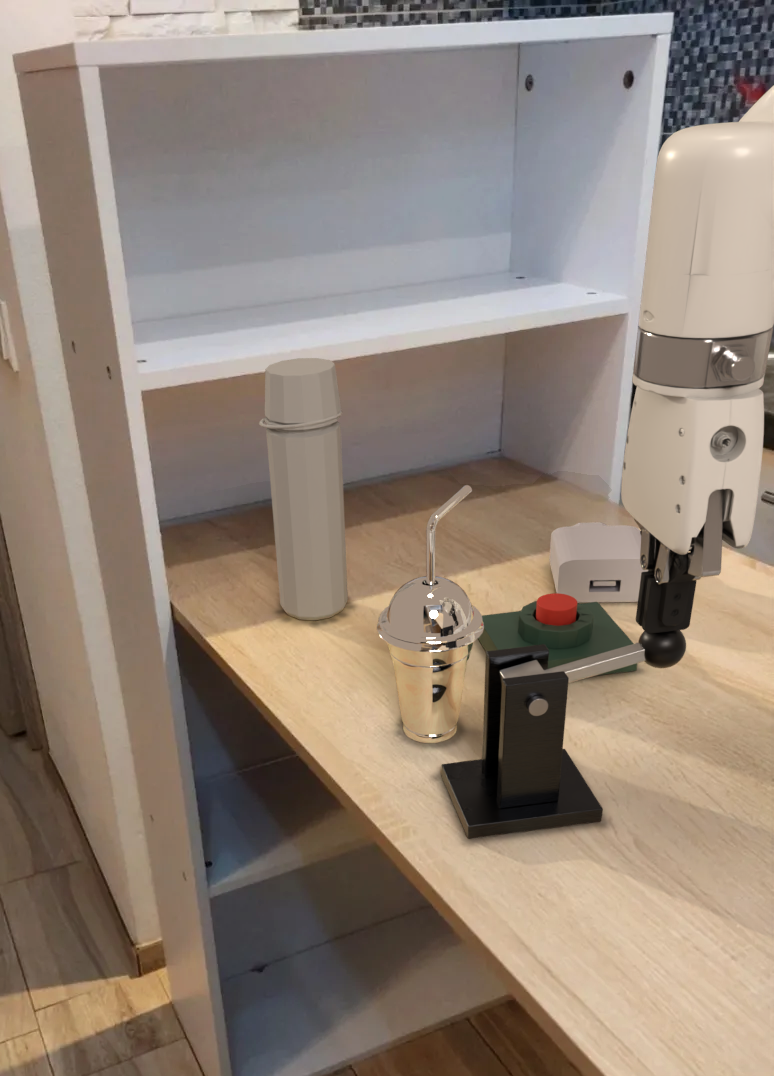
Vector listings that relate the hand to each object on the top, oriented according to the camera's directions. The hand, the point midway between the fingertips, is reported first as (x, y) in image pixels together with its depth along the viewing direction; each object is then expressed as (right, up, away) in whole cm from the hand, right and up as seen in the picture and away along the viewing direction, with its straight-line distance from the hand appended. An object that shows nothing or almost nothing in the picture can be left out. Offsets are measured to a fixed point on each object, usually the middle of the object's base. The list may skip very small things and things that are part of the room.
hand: (661, 625), depth 72 cm
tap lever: (-4, -4, +2) cm, 6 cm away
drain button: (-1, +3, +23) cm, 23 cm away
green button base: (-1, -1, +25) cm, 25 cm away
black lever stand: (-9, -13, +7) cm, 17 cm away
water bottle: (-23, +5, +38) cm, 44 cm away
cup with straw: (-14, -8, +16) cm, 22 cm away
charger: (+7, +9, +39) cm, 41 cm away
